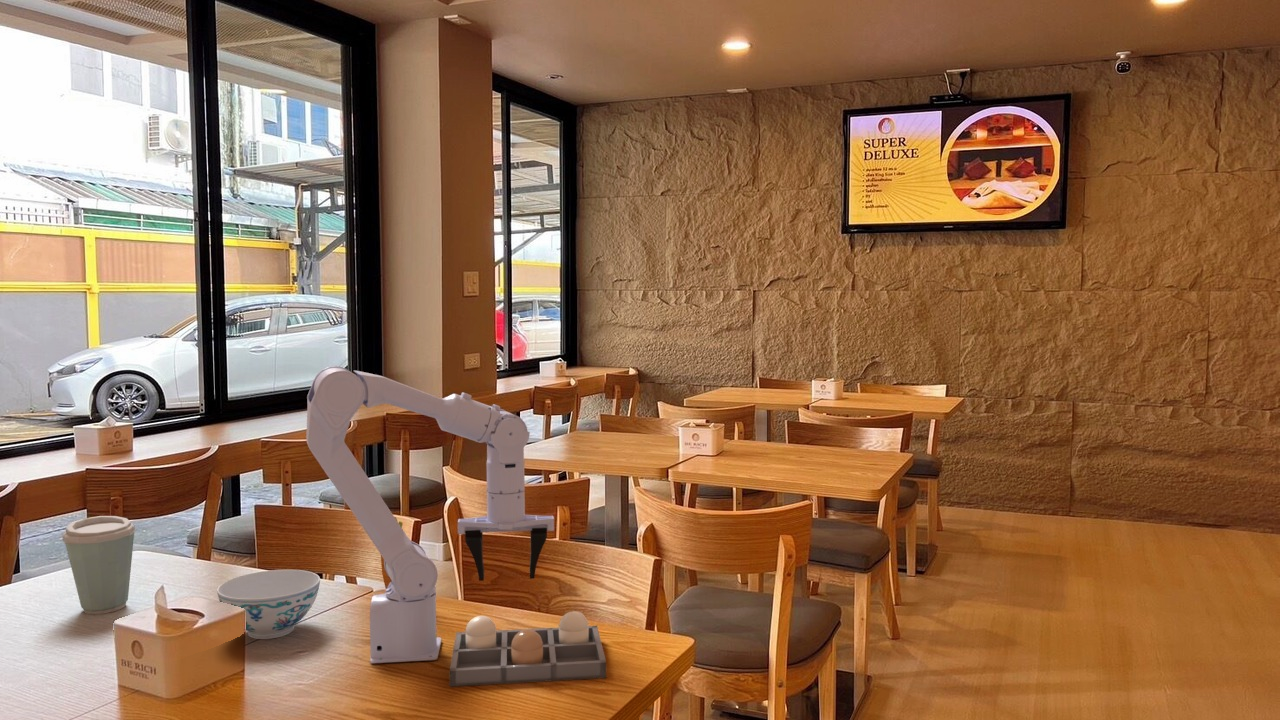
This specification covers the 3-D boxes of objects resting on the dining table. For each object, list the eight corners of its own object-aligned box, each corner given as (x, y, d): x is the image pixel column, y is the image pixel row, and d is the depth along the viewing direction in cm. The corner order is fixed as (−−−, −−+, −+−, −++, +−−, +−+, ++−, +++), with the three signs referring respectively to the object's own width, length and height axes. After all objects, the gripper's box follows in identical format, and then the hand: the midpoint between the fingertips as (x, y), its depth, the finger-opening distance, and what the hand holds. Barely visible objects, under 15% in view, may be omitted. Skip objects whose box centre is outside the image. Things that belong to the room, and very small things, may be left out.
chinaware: (308, 609, 156) (307, 564, 156) (332, 636, 144) (331, 587, 143) (211, 626, 148) (209, 579, 148) (228, 657, 136) (226, 605, 135)
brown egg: (510, 674, 128) (510, 636, 127) (512, 662, 132) (511, 625, 132) (542, 673, 128) (542, 635, 128) (543, 661, 132) (543, 624, 132)
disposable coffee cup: (151, 605, 158) (148, 519, 157) (86, 624, 149) (82, 532, 148) (118, 595, 164) (114, 511, 163) (53, 612, 155) (48, 524, 154)
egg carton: (449, 686, 125) (449, 644, 125) (456, 646, 139) (455, 609, 139) (606, 677, 128) (606, 636, 127) (597, 639, 142) (596, 602, 142)
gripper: (455, 497, 136) (457, 587, 137) (554, 494, 138) (555, 583, 139) (458, 487, 143) (460, 573, 144) (552, 484, 145) (553, 569, 146)
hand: (506, 577), depth 142 cm, fingers open, 7 cm apart
